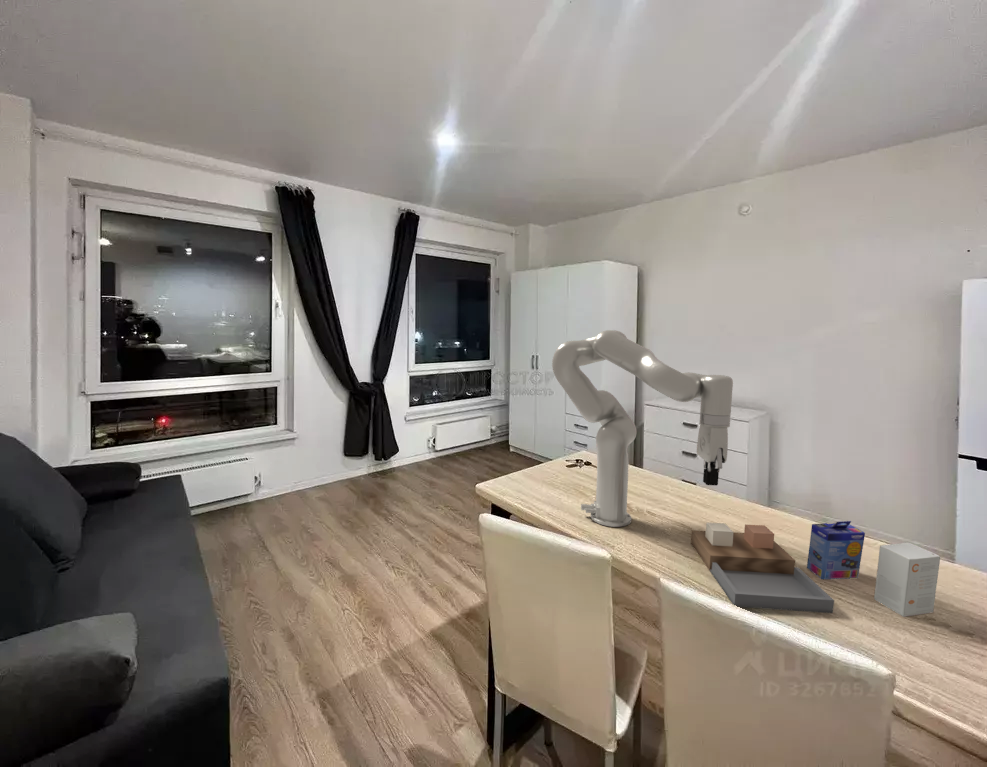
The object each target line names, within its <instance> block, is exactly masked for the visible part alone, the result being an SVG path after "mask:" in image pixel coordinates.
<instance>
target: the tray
mask: <svg viewBox="0 0 987 767" xmlns="http://www.w3.org/2000/svg"><path fill="white" fill-rule="evenodd" d="M709 572H710V574H711V575H712V577H713V578H714V580H715V581H716V582H717V584H718V585H719V587H720V588H721V589H722V591H723V592H724V593H725V595H726V597H727V598H728V600H730V603H731V604H732V605H733V604H734V605H736V606H739V608H748V609H749V608H751V609H763V610H764V609H766V610H779V611H793V612H794V611H795V612H796V611H798V612H809V613H823V614H833V613H834V606H835V599H834V598H833V597H831V596H830V595H829V594H828V593H827V592H826V591H825V590H824V589H823V588H822V587H821V586H819V585H818V584H817V583H816V581H814V580H813V579H812V578H811V577H810V576H809V575H807V573H805V572H804V571H803V570H802V569H801V567H798V566H795V567H794V574H779V573H763V572H747V571H730V570H722V569H721V568H720V566H719V565H718V564H717V563H715V562H712V569H710V570H709ZM734 605H733V606H734Z"/></svg>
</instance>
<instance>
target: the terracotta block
mask: <svg viewBox="0 0 987 767" xmlns="http://www.w3.org/2000/svg"><path fill="white" fill-rule="evenodd" d="M743 530H744V532H743V533H744V539H745V540H746V541H747V542H748V543H749V544H750V545H751V546H752V547H753V548H770V549H773V544H774V541H775V533H774V532H773V531H771V530H770V529H769V528H768V527H767V526H766V525H765V524H744V529H743Z"/></svg>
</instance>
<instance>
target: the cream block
mask: <svg viewBox="0 0 987 767" xmlns="http://www.w3.org/2000/svg"><path fill="white" fill-rule="evenodd" d="M705 531H706V533H705V537H706V538H707V539H708V540H709V542H710V543H711V544H712V545H716V546H732V545H733V532H734V531H733V530H732V528H730V527H729V525H727V524H726V523H724V522H723V523H722V522H721V523H720V522H705Z"/></svg>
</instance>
